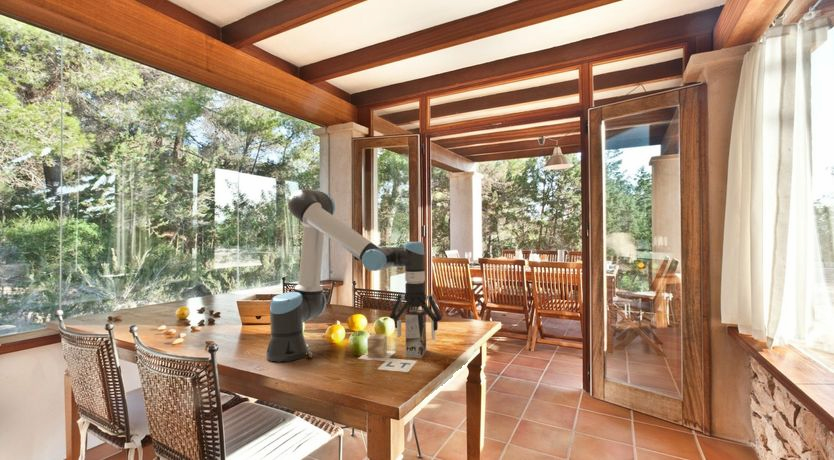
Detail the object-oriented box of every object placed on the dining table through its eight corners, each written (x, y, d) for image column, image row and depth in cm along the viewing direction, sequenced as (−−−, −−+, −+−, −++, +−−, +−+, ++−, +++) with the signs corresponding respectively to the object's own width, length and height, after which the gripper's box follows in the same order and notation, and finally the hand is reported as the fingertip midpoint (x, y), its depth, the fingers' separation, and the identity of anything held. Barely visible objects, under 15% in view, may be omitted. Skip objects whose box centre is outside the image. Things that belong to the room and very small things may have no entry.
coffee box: (422, 358, 136) (421, 314, 136) (405, 357, 138) (404, 314, 138) (427, 350, 145) (426, 309, 145) (411, 349, 147) (410, 309, 147)
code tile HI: (357, 359, 137) (357, 358, 137) (369, 349, 147) (369, 349, 147) (385, 361, 134) (385, 360, 134) (396, 351, 144) (395, 351, 144)
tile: (377, 369, 126) (377, 368, 126) (388, 358, 137) (388, 358, 137) (407, 372, 123) (407, 371, 123) (417, 361, 134) (417, 360, 134)
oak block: (367, 357, 138) (367, 338, 138) (371, 352, 144) (371, 334, 144) (383, 357, 137) (383, 338, 137) (386, 352, 143) (386, 334, 143)
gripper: (381, 282, 141) (382, 338, 141) (445, 284, 134) (446, 342, 134) (388, 280, 149) (389, 333, 149) (449, 281, 142) (450, 336, 142)
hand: (416, 337), depth 142 cm, fingers open, 13 cm apart
